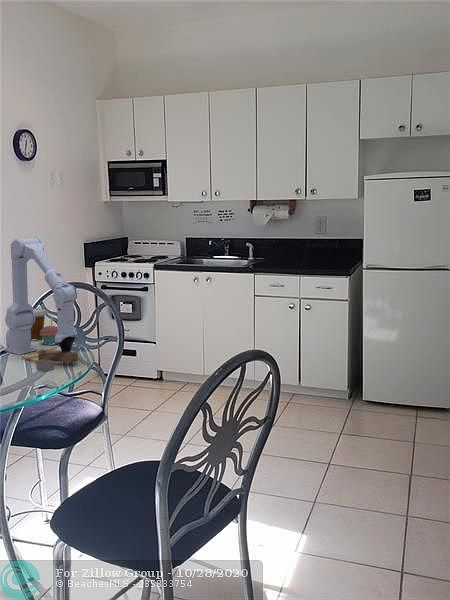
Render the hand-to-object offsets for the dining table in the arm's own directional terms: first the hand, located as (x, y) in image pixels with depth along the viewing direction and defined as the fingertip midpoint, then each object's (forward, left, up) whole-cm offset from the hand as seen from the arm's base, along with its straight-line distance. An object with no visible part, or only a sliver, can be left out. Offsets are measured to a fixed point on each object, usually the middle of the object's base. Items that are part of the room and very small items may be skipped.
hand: (66, 357), depth 220 cm
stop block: (+1, -10, -2) cm, 10 cm away
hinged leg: (-1, -3, -1) cm, 3 cm away
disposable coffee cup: (-38, +13, -2) cm, 41 cm away
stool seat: (-10, -1, -2) cm, 10 cm away
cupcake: (-27, +13, -2) cm, 30 cm away
